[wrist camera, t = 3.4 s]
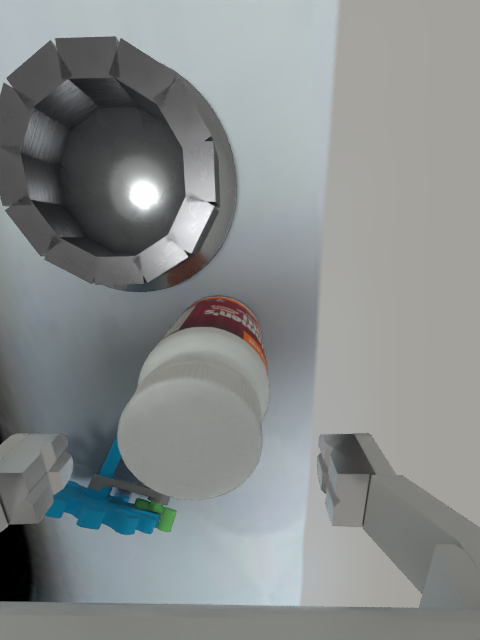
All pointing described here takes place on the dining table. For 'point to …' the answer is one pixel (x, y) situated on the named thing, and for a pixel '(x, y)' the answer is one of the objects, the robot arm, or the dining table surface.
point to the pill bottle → (199, 404)
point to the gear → (113, 502)
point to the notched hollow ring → (114, 165)
